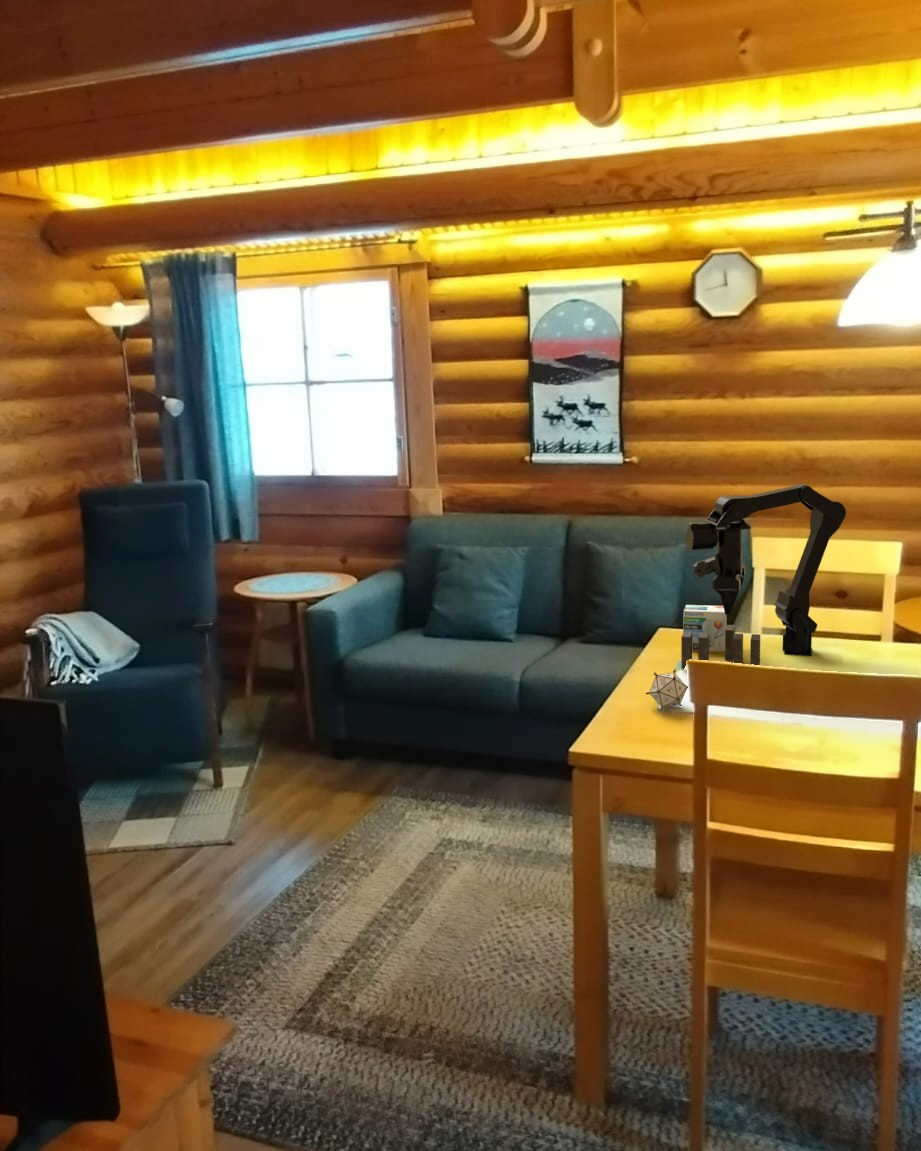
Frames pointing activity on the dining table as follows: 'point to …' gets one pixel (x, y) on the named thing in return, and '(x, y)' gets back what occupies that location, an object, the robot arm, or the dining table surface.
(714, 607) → the light bulb box
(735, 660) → the domino
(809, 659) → the dining table surface
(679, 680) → the game die
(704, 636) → the domino
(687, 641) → the domino
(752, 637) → the domino
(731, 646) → the domino
